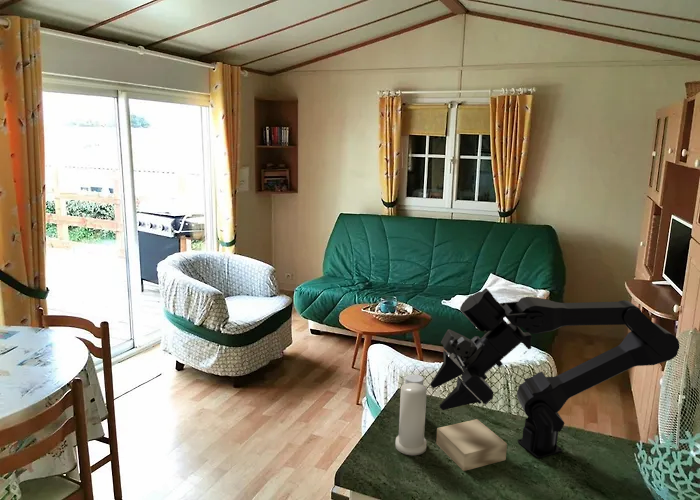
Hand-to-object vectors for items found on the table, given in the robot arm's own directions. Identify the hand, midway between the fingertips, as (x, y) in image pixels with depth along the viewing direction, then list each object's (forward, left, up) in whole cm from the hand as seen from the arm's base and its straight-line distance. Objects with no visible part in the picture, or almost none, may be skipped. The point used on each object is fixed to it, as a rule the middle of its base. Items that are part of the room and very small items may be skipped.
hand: (436, 396), depth 110 cm
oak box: (-6, +4, -12) cm, 14 cm away
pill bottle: (-2, -12, -11) cm, 16 cm away
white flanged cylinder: (+4, -2, -11) cm, 12 cm away
